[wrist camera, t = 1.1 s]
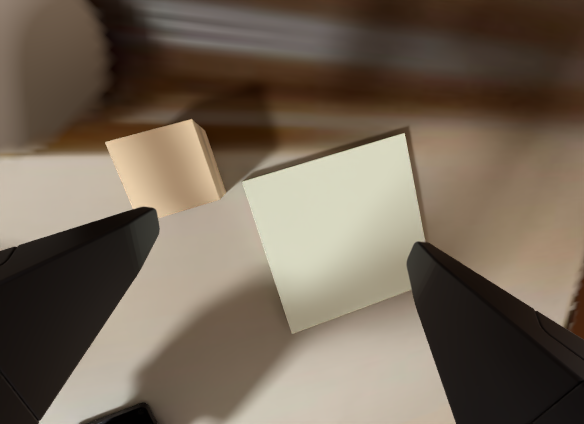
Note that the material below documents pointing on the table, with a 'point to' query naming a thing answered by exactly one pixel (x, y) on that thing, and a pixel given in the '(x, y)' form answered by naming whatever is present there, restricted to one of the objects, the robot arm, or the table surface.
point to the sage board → (338, 229)
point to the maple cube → (168, 168)
